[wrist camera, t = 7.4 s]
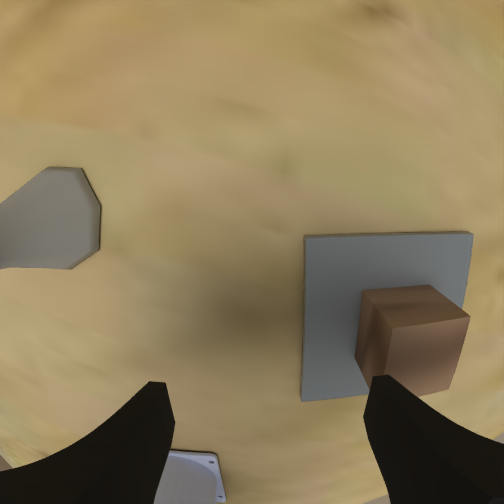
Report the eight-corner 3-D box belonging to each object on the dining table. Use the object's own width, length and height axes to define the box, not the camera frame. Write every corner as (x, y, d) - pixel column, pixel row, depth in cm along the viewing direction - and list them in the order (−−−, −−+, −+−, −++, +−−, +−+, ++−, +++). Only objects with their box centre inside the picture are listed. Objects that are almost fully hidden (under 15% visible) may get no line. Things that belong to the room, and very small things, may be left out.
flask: (115, 260, 19) (21, 332, 9) (38, 274, 19) (-53, 333, 10) (92, 151, 17) (-24, 149, 7) (17, 180, 18) (-88, 201, 8)
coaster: (438, 373, 21) (442, 379, 20) (300, 394, 21) (301, 401, 21) (467, 231, 18) (473, 234, 17) (304, 235, 18) (306, 238, 18)
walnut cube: (417, 348, 20) (448, 389, 15) (354, 357, 20) (376, 404, 15) (429, 284, 18) (470, 316, 13) (361, 289, 18) (392, 328, 14)
